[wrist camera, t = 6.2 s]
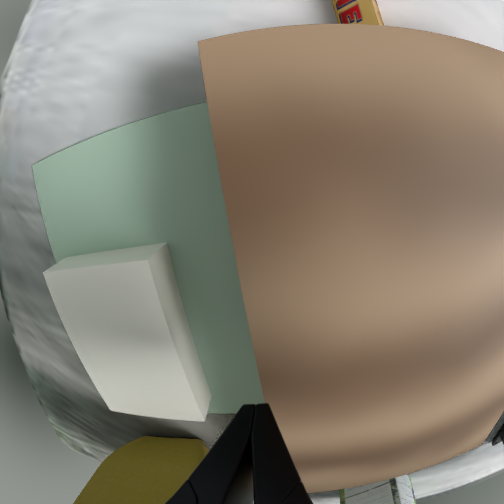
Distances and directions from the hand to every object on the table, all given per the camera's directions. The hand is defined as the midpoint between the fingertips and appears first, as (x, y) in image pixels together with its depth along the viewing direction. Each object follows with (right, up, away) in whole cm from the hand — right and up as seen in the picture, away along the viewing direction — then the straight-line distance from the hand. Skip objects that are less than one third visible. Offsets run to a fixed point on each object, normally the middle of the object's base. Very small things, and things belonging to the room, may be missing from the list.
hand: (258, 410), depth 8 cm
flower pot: (-5, -10, +10) cm, 15 cm away
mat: (-5, +3, +5) cm, 7 cm away
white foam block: (-6, 0, +3) cm, 7 cm away
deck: (+7, +3, +4) cm, 9 cm away
